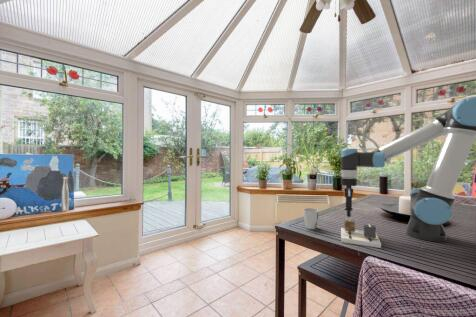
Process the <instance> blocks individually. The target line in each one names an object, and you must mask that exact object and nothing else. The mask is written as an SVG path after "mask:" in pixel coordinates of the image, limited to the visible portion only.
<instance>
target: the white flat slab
mask: <svg viewBox="0 0 476 317" xmlns="http://www.w3.org/2000/svg"><path fill="white" fill-rule="evenodd" d="M340 239H341V240H340V241H341V243H344V244H345V243H346V244H351V245H359V246H364V247H365V246H366V247H372V248H377V249H378V248H379V249H382V243H381V240H380V238H379V236H378V234H377V233H376V238H370V237H364V229H363V230H361V229H360V230H359V229H355V232H351V231H345V227H340Z"/></svg>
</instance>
